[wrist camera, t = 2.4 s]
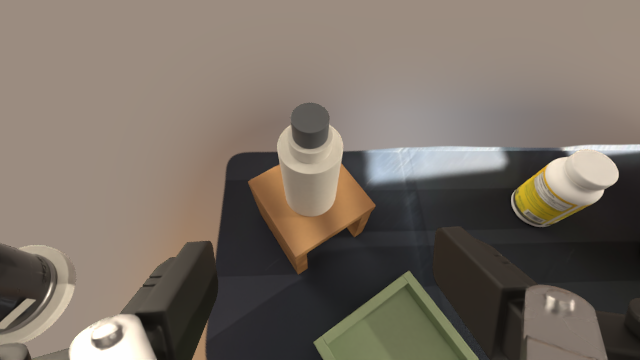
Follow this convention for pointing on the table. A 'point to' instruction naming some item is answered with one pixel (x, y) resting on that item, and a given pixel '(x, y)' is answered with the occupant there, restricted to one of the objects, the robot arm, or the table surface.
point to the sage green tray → (395, 329)
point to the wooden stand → (302, 230)
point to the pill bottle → (564, 187)
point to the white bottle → (310, 160)
